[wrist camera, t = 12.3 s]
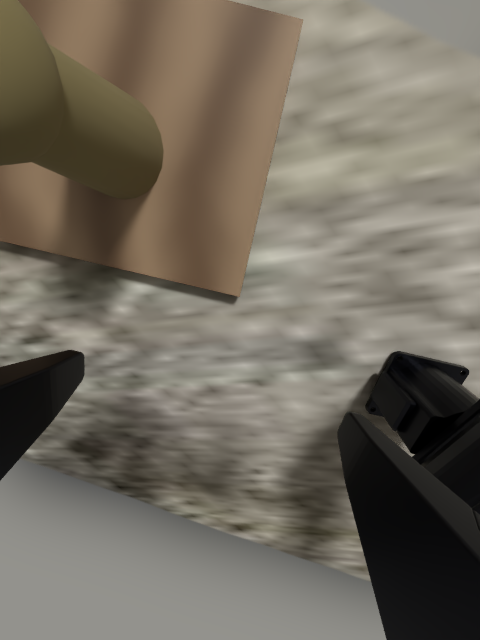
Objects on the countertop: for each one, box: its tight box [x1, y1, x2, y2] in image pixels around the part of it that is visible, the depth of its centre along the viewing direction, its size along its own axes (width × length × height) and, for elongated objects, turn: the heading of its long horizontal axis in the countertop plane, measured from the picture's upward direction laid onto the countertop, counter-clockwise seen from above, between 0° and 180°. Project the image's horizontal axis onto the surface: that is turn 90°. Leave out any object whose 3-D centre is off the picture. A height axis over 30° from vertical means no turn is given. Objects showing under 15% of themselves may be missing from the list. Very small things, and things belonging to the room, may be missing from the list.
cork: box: [0, 0, 164, 199], centre depth 11 cm, size 6×6×11 cm
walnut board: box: [0, 0, 303, 297], centre depth 17 cm, size 20×16×1 cm
